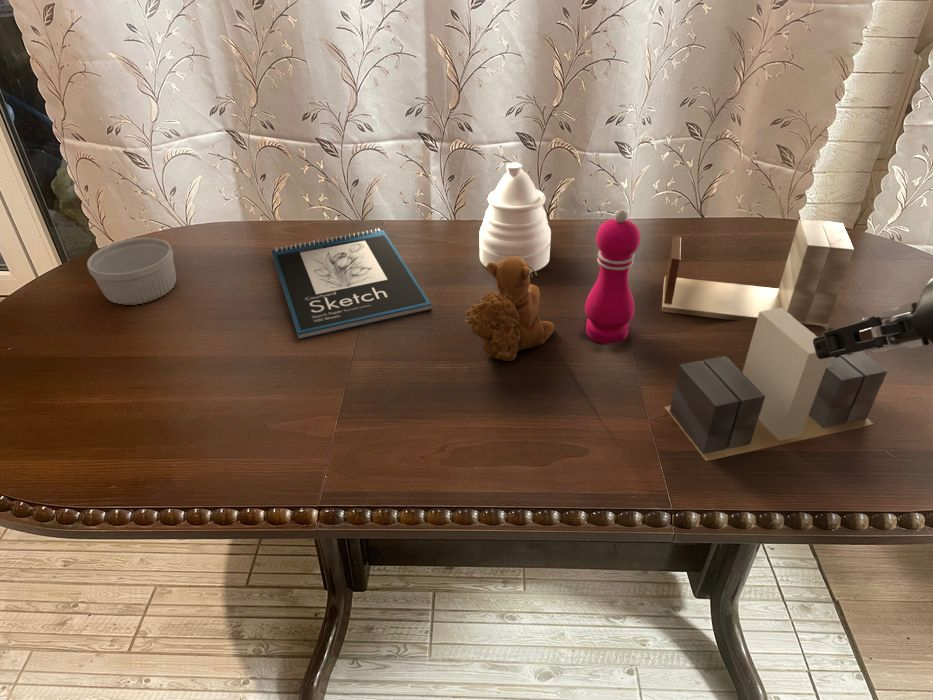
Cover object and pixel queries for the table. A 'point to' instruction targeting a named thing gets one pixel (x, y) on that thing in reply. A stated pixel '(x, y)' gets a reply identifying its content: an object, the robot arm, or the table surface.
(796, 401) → the white book
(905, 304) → the robot arm
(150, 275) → the ramekin
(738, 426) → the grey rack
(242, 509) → the table surface
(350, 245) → the sketchbook
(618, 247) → the pepper mill
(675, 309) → the white rack
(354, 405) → the table surface
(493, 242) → the honey pot
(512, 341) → the stuffed squirrel
